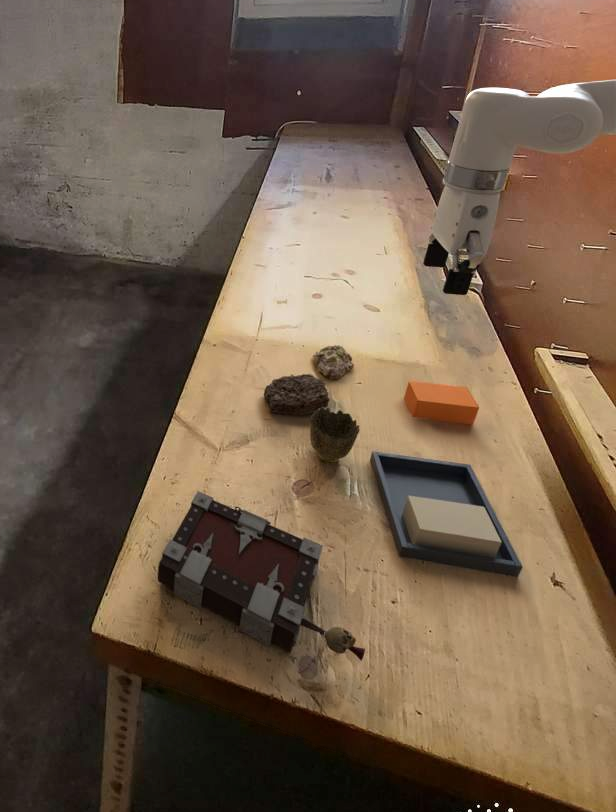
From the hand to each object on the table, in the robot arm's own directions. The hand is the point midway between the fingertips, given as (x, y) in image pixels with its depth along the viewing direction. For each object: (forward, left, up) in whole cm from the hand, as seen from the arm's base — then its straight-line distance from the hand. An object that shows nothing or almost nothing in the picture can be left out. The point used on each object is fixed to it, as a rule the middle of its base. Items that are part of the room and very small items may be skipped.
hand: (443, 279), depth 90 cm
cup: (+15, +12, -30) cm, 35 cm away
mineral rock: (+10, -16, -30) cm, 35 cm away
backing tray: (+1, +21, -30) cm, 37 cm away
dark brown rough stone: (+19, -2, -30) cm, 35 cm away
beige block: (+1, +26, -29) cm, 39 cm away
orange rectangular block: (-7, -5, -30) cm, 31 cm away
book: (+27, +39, -30) cm, 56 cm away
